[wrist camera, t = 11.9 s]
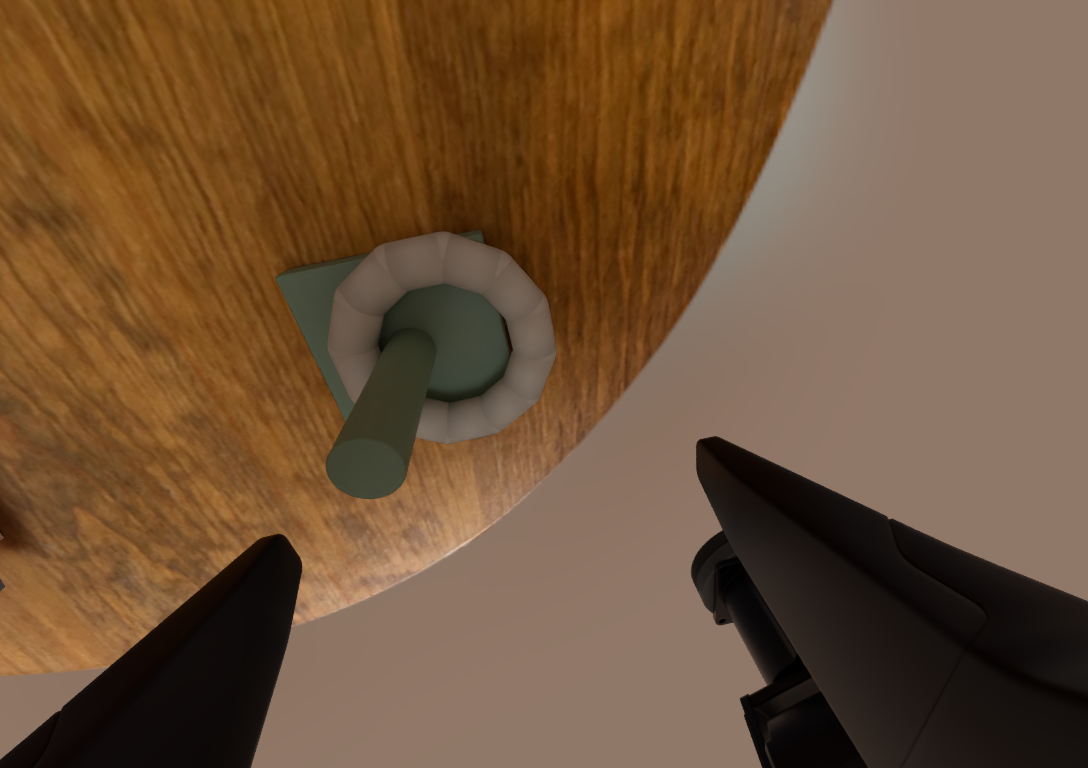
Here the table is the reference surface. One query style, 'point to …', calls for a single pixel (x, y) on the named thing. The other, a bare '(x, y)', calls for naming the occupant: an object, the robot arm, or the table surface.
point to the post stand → (397, 367)
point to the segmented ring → (465, 268)
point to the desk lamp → (0, 584)
